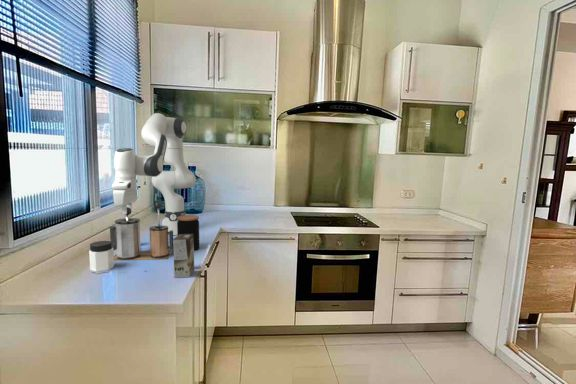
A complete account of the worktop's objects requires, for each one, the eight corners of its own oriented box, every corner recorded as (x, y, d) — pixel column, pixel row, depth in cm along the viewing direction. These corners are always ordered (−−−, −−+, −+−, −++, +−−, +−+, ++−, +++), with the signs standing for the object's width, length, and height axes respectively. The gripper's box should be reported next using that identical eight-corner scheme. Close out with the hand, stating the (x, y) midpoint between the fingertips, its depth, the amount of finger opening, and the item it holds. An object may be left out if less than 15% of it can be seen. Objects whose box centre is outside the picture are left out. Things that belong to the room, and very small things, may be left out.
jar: (99, 266, 144) (97, 240, 143) (117, 267, 144) (116, 240, 143) (86, 274, 135) (84, 246, 134) (106, 274, 135) (104, 246, 134)
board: (119, 254, 162) (119, 251, 162) (173, 252, 166) (173, 250, 166) (108, 263, 148) (108, 260, 148) (168, 261, 152) (167, 259, 152)
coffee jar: (191, 246, 176) (190, 214, 174) (203, 250, 170) (203, 216, 168) (173, 251, 168) (172, 216, 166) (185, 255, 162) (184, 219, 159)
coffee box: (189, 277, 134) (189, 239, 132) (173, 277, 133) (172, 239, 131) (194, 269, 143) (193, 233, 141) (179, 269, 142) (178, 233, 140)
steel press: (116, 253, 159) (114, 218, 157) (143, 252, 161) (141, 217, 159) (108, 260, 149) (106, 222, 147) (136, 259, 151) (135, 222, 149)
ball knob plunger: (154, 236, 159) (153, 200, 157) (166, 236, 160) (165, 200, 157) (151, 239, 153) (150, 202, 151) (164, 239, 154) (163, 202, 152)
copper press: (153, 253, 161) (152, 225, 159) (174, 252, 162) (174, 225, 160) (148, 258, 153) (147, 229, 151) (171, 257, 154) (170, 229, 153)
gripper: (126, 181, 161) (127, 209, 163) (110, 185, 141) (111, 217, 142) (139, 181, 162) (140, 209, 163) (125, 185, 142) (126, 217, 143)
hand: (127, 213), depth 153 cm, fingers closed on steel plunger, 4 cm apart
